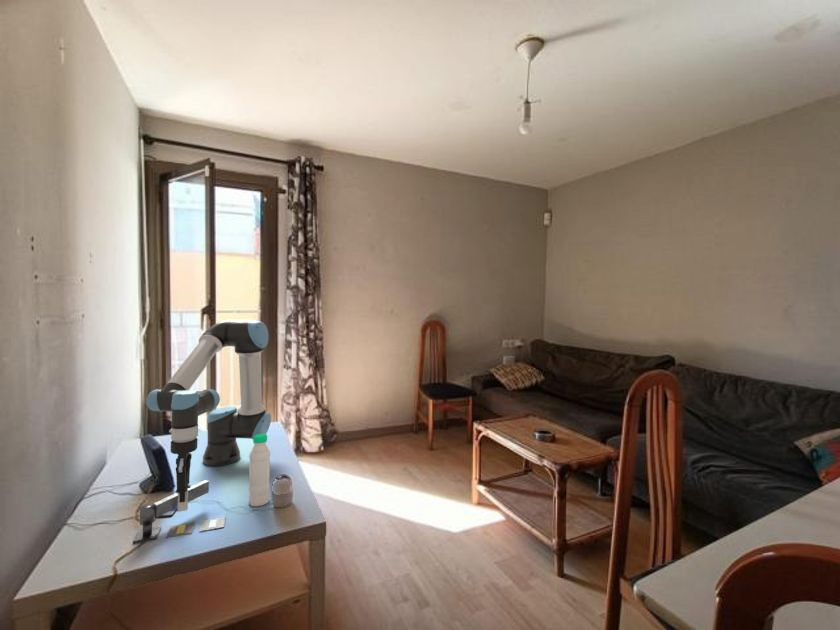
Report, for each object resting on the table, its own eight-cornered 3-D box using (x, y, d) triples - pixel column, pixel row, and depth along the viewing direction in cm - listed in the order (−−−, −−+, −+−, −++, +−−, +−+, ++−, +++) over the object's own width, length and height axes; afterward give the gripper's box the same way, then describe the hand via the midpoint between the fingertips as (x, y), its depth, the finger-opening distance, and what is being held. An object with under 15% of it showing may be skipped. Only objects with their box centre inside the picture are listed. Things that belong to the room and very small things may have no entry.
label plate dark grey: (202, 521, 127) (202, 520, 127) (225, 517, 130) (225, 516, 130) (199, 532, 122) (199, 530, 122) (223, 527, 125) (223, 526, 125)
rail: (136, 523, 118) (136, 507, 118) (203, 491, 138) (203, 478, 138) (144, 526, 116) (144, 511, 116) (210, 494, 136) (210, 480, 136)
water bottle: (249, 509, 136) (250, 439, 135) (248, 499, 142) (249, 433, 141) (270, 504, 139) (271, 437, 138) (268, 495, 145) (269, 430, 144)
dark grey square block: (138, 532, 121) (138, 519, 121) (161, 528, 123) (161, 515, 123) (132, 543, 115) (132, 530, 115) (156, 539, 118) (156, 526, 117)
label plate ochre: (170, 526, 124) (170, 525, 124) (195, 522, 127) (195, 521, 127) (166, 537, 118) (166, 536, 118) (192, 533, 121) (192, 532, 121)
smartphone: (148, 517, 128) (170, 494, 143) (148, 520, 128) (169, 496, 143) (171, 516, 129) (190, 493, 144) (171, 518, 129) (190, 495, 144)
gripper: (174, 433, 130) (173, 502, 130) (166, 446, 118) (164, 522, 119) (200, 431, 133) (198, 499, 133) (194, 444, 121) (192, 518, 121)
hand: (182, 510), depth 126 cm, fingers closed
